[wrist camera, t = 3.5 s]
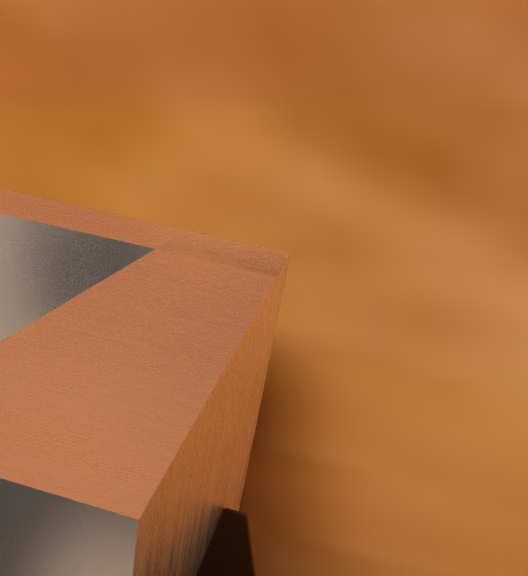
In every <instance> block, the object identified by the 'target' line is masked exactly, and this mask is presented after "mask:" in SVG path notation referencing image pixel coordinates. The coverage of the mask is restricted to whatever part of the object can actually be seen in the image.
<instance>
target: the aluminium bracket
mask: <svg viewBox="0 0 528 576" xmlns="http://www.w3.org/2000/svg"><path fill="white" fill-rule="evenodd" d="M290 254H291V253H288V252H283V251H279V250H274V249H270V248H265V247H261V246H256V245H252V244H247V243H243V242H238V241H234V240H229V239H225V238H220V237H216V236H211V235H207V234H202V233H198V232H193V231H189V230H184V229H180V228H175V227H171V226H166V225H162V224H157V223H153V222H148V221H144V220H139V219H135V218H130V217H126V216H121V215H117V214H112V213H108V212H103V211H99V210H94V209H90V208H85V207H81V206H76V205H72V204H67V203H63V202H58V201H54V200H49V199H45V198H40V197H36V196H31V195H27V194H22V193H18V192H13V191H9V190H4V189H0V576H197V573H198V570H199V568H200V565H201V563H202V560H203V558H204V555H205V553H206V550H207V548H208V545H209V543H210V541H211V538H212V536H213V533H214V531H215V528H216V526H217V523H218V521H219V519H220V516H221V514H222V511H223V509H224V508H230V509H233V510H237V511H239V509H240V504H241V499H242V494H243V489H244V484H245V479H246V474H247V469H248V464H249V459H250V454H251V449H252V444H253V439H254V434H255V429H256V424H257V419H258V414H259V409H260V404H261V399H262V394H263V389H264V384H265V379H266V374H267V369H268V364H269V359H270V354H271V349H272V344H273V339H274V334H275V329H276V324H277V319H278V314H279V309H280V304H281V299H282V294H283V289H284V284H285V279H286V274H287V269H288V264H289V259H290Z"/></svg>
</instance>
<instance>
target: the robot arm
mask: <svg viewBox="0 0 528 576" xmlns="http://www.w3.org/2000/svg"><path fill="white" fill-rule="evenodd" d="M197 576H256V572H255V565H254V557H253V550H252V543H251V536H250V528H249V521H248V517H247V515H246V513H243V512H240V511H237V510H233V509H230V508H224V509H223V511H222V514H221V516H220V519H219V521H218V523H217V526H216V528H215V531H214V533H213V536H212V538H211V541H210V543H209V545H208V548H207V550H206V553H205V555H204V558H203V560H202V563H201V565H200V568H199V570H198V573H197Z"/></svg>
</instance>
